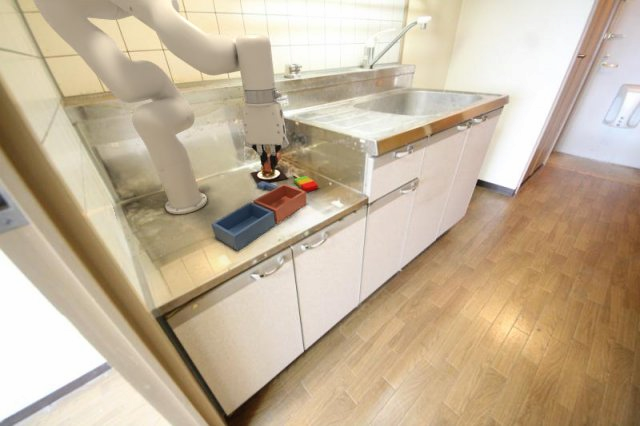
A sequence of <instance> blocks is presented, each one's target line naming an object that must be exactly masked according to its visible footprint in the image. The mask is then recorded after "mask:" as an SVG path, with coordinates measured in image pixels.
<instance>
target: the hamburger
mask: <svg viewBox="0 0 640 426" xmlns="http://www.w3.org/2000/svg"><path fill="white" fill-rule="evenodd" d="M250 175H251V177H252V178H253V180H254V182H255V183H256V185H257V184H258V183H260V182H262V181H264V182H267V183H270V184H273V183H276V182H281V181H287V180H289V177H288V176H287V175H286V174H285V173H284V172H283V171H282V169H281V168H280V167H275V169H274V170H271V171H265V169H263V165H261V167H260V170H257V171H253V172H252V171H251V172H250Z"/></svg>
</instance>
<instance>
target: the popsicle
mask: <svg viewBox="0 0 640 426" xmlns="http://www.w3.org/2000/svg"><path fill="white" fill-rule="evenodd" d="M292 175H293V176H294V177H295V178H294V179H293V183H294V184H296V186H297V187H299V189H300V190H303V191H306V193H308V192H312V191H315V190H317V189H319V188H318V187H319V186H318V183H317V182H315V181H314V180H313V179H312V178H310V177H309V176H307V175H304V176H299V175H298V174H296V173H292Z"/></svg>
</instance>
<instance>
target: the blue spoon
mask: <svg viewBox="0 0 640 426" xmlns="http://www.w3.org/2000/svg"><path fill="white" fill-rule="evenodd" d="M279 186H280V185H279ZM279 186H278V185H276V184H274V183H267V182H264V181H262V182H260V183H258V184H257V183H256V188H257V189H260V190H262V191H268V192H270V191H272V190H274V189H275V188H277V187H279Z"/></svg>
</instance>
